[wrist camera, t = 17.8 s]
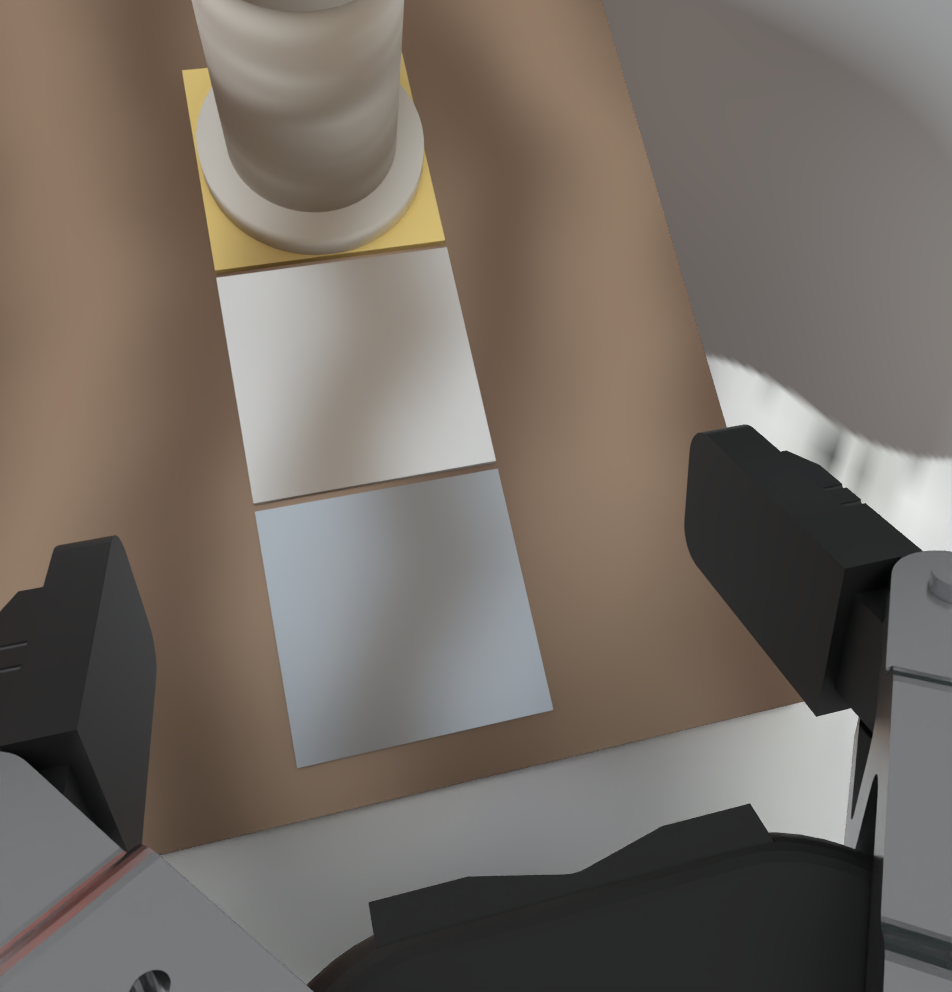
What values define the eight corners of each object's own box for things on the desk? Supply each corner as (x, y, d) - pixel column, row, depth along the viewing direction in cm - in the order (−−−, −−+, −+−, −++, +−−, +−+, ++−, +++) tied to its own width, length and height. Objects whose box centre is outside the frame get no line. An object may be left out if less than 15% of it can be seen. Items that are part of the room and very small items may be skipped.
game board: (-408, 986, 18) (-547, 1033, 15) (-404, 47, 22) (-508, -46, 20) (791, 701, 22) (850, 698, 19) (579, -32, 27) (603, -116, 24)
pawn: (217, 268, 22) (103, -90, 12) (188, 74, 23) (63, -388, 14) (440, 240, 23) (496, -113, 13) (400, 56, 24) (425, -389, 14)
